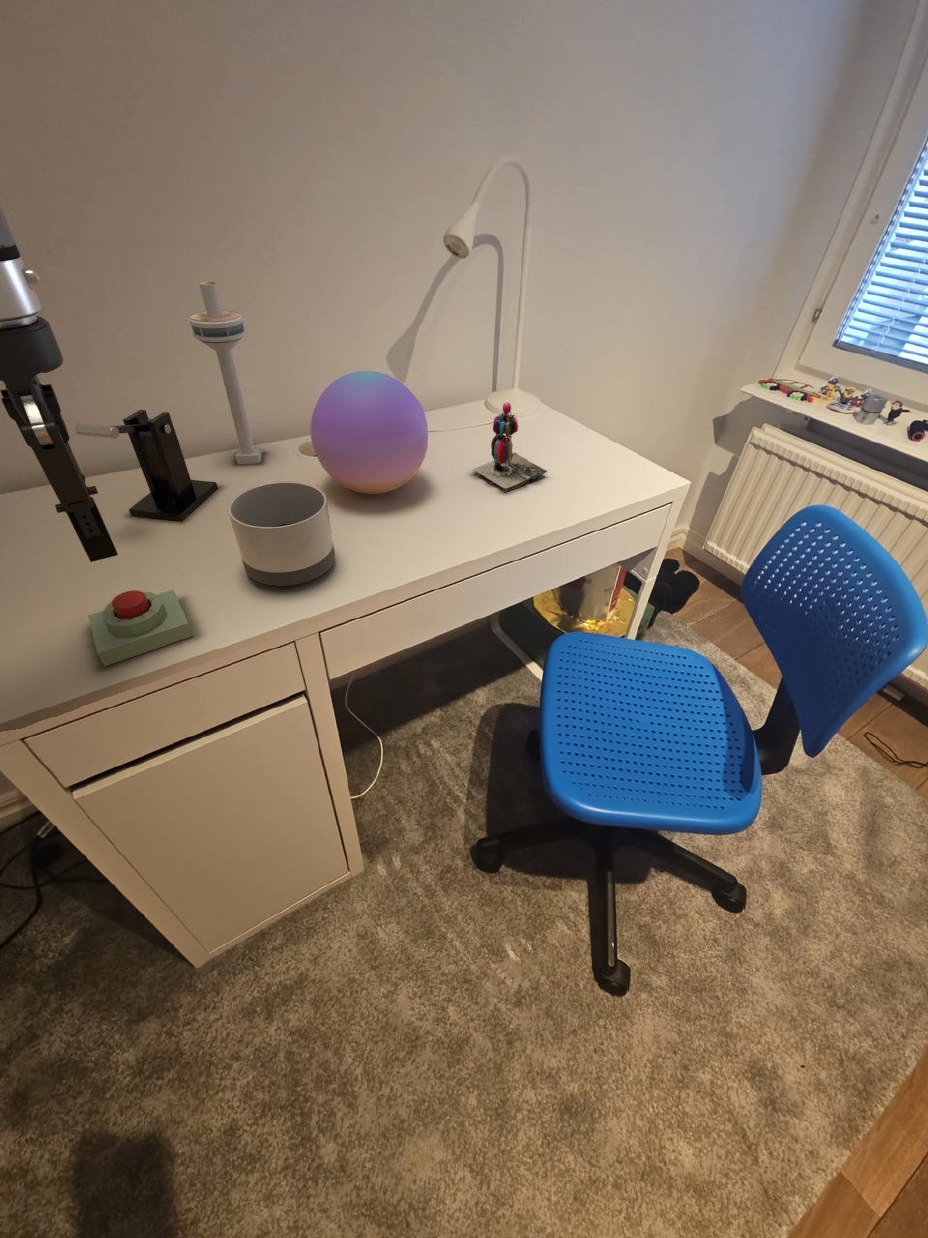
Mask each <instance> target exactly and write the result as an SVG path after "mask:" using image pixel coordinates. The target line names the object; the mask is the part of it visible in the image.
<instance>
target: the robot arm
mask: <svg viewBox="0 0 928 1238" xmlns="http://www.w3.org/2000/svg"><path fill="white" fill-rule="evenodd" d="M24 264H25V263H24V261H23V259H22V257H21V253H20V250H19V248H18V246H17V244H16V241H15V238H14V236H13V234H12V231H11V229H10V226H9V224H8V221H7V218H6V216H5V213H4V211H3V208H2V206H1V205H0V381H1V382H2V383H3V384H4V386H5V388H4V389H0V393H1V396H2V397H1V398H0V399H1V402H2V405H3V406H4V409H5V410H6V413H7V415H8V417H9V418H10V419H12V420H13V421H14V422H15V423H16V426H17V428H18V429H19V432H20V434H21V436H22V438H23V440H24V442H25V444H26V445H27V446H28V447H30V449H31V450H32V452H33V453H34V455H35V457H36V460H37V461H38V463H39V465H40V468H41V469H42V470H43V472H44V474H45V476H46V478H47V480H48V483H49V484H50V486H51V487H52V488H51V489H52V491H54V494H55V495H56V497H57V499H58V501H59V503H56V504H54V506H55V507H54V508H55V511H56V512H57V514H60V513H65V514H66V515H67V517H68V519H69V521H70V523H71V526H72V527H73V529H74V531H75V534H76V535H77V537H78V540H79V541H80V544H81V546H82V547H83V550H84V552H85V554H86V556H87V558H88V559H89V562H90V563H93V562H97V561H101V560H105V559H109V558H112V557H117V556H118V555H119V554H118V551H117V548H116V545H115V544H114V542H113V539H112V536H111V535H110V533H109V530H108V528H107V526H106V523H105V521H104V519H103V517H102V514H101V512H100V510H99V507H98V506H97V503H96V500H95V498H94V497H93V496H94V495H98V494H99V492H98V489H97V487H96V486H97V485H91V486H87V484H86V476H85V474H83V473H82V471H81V469H80V466H79V464H78V461H77V459H76V457H75V455H74V452H73V450H72V448H71V445H70V443H69V441H70V435H69V432H68V429H67V426H66V423H65V420H64V418H63V415H62V414H61V412H62V410H61V406H60V403H59V401H58V397H57V395H56V392H55V390H54V388H53V386H52V384H51V383H48V384H46V383H45V384H44V383H41V382H40V379H39V377H38V375H39V374H48V373H51V372H54V371H55V370H56V369H59V368H60V367H61V366H62V365H63V363H64V356H63V354H62V351H61V349H60V346H59V344H58V342H57V339H56V337H55V333H54V331H53V330H52V329H53V328H52V326H51V324H50V322H49V321H48V320H46V319H45V318H44V317H42V316H40V315H38V314H40V312H41V311H42V309H43V307H42V304H41V302H40V300H39V297H38V295H37V292H36V290H35V288H34V287H33V286H32V285H30V284H39V282H40V280H41V279H40V276H39V274H38V273H37V272H36V270H35V269H31V268H30V269H23V268H24V266H25V265H24Z"/></svg>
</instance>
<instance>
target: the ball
mask: <svg viewBox="0 0 928 1238" xmlns="http://www.w3.org/2000/svg"><path fill="white" fill-rule="evenodd" d="M428 427H429V426H428V420H427V417H426V413H425V411H424V409H423V406H422V405H421V403H420V401H419V399H418V398H417V397H416V396H415V395H414V393H413V392H412V391H411V390H410V389H409V388H408V387H407V385H405V384H404V383H403V382H401V380H398V379H396V378H395V377H393V376H391V375H389V374H386V373H383V372H380V371H379V372H378V371H374V370H360V371H359V370H358V371H353V372H350V373H348V374H345V375H342V376H340V377H339V378H337V379H335V380H333V382H331V383H330V384H329V385H328V386H327V387H326V388H324V389H323V392H322V393H321V394H320V396H319V397H318V400H317V402H316V404H315V407H314V408H313V411H312V414H311V420H310V428H309V429H310V439H311V443H312V447H313V449H314V452H315V454H316V456H317V460H318V462H319V463H320V465H321V467H322V468H323V470H324V471H325V472H326V473H327V474H328V475H329V477H331V478H332V479H333V480H335V481H336V482H337V483H338V484H340V486H342V487H344V488H346V489H348V490H350V491H354V492H356V493H361V494H366V495H380V494H385V493H388V492H391V491H394V490H397V489H399V488H401V487H402V486H404V485H405V484H407V483H408V482H409V481H410V480H411V479H412V478H413V477H414V476H415V475H416V474H417V472H418V471H419V469H420V467H421V466H422V465H423V463H424V461H425V458H426V455H427V451H428V443H429V428H428Z"/></svg>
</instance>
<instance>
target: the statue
mask: <svg viewBox="0 0 928 1238" xmlns="http://www.w3.org/2000/svg"><path fill="white" fill-rule="evenodd" d="M511 411H512V405H511V403H510V402H509V401H504V402H503V404H502V412H501V414H500V413H499V414H498V415H495V416H494V417H493V418H494V419H493V423H492V431H493V433H494V434H495V435H494V437H492V440H491V444H490V448H491V456H492V458H493V460H492V461H490V462H487V463H484V464H481V465H479V466H476V467H475V468H473V471H474V475H476V476H478V477H480V476H483V477H485V478H486V479H487V480H488V483H489V484H490V485H493V484H495V485H498V486H499V487H501V488H503V489H502V491H503V493H504V494H505V493H507V492H510V491H511V490H515V489H517V488H519V487H521V486H523V485H525V484H528V483H529V482H530V483H534V482H536V481H537V480H539V478H540V477H541V476H544V475H545V474H546V473H547V472H548V470H546V469H544V468H543V467H541V466H539V465H537V464H535V463H533V462H532V461H530V460H528V459H527V458H526V457H523V456H521V455H520V454H519V453H517V452H515V451H514V452H513V445H514V444H513V442H512V441H513V440H512V439H513V437H512V435H514V434H515V433H517V432H518V431H519V423H518V418H517V416H516V415H515V414H512V415H511Z"/></svg>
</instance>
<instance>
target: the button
mask: <svg viewBox="0 0 928 1238" xmlns="http://www.w3.org/2000/svg"><path fill="white" fill-rule="evenodd" d="M143 592H144V591H142V590H136V589H135V590H133V589H132V590H127V591H124V592H123V591H122V592H121V593H118V595H116V596H115V597H114V598H113V599H112V600H111V602H112V606H113V608H114V610H115V612H116V614H117V616H118V617H119V618H121V619H132V618H135V617H138V616H141V615H143V614H144V613H146V612H147V611H148V610H149V608H150V605H149V603H148V601H147V598H146V596H145V594H144V593H143Z"/></svg>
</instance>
